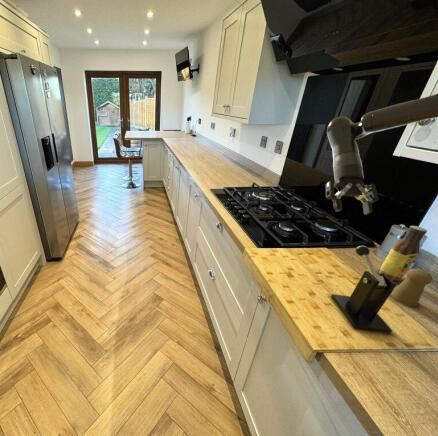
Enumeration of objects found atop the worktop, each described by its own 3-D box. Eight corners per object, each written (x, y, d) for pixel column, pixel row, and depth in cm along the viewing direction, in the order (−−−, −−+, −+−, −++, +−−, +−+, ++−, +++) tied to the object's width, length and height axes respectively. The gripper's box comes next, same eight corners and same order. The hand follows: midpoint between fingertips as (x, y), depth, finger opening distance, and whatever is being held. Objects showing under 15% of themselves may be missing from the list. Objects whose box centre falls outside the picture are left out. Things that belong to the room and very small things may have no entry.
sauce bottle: (398, 284, 82) (431, 235, 73) (375, 274, 87) (403, 227, 78) (402, 277, 86) (434, 229, 77) (380, 268, 90) (407, 222, 82)
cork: (389, 297, 76) (407, 270, 71) (392, 289, 80) (409, 263, 75) (415, 309, 72) (436, 281, 67) (417, 300, 75) (437, 273, 71)
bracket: (330, 296, 75) (348, 261, 69) (361, 300, 74) (382, 265, 68) (353, 328, 65) (377, 290, 59) (390, 333, 64) (418, 295, 57)
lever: (351, 248, 73) (358, 243, 70) (362, 250, 72) (369, 244, 70) (368, 288, 65) (377, 283, 62) (381, 290, 64) (390, 285, 62)
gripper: (332, 161, 79) (337, 205, 73) (379, 164, 77) (388, 210, 72) (318, 172, 86) (322, 214, 81) (361, 176, 84) (368, 218, 79)
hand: (353, 212), depth 76 cm, fingers open, 8 cm apart
